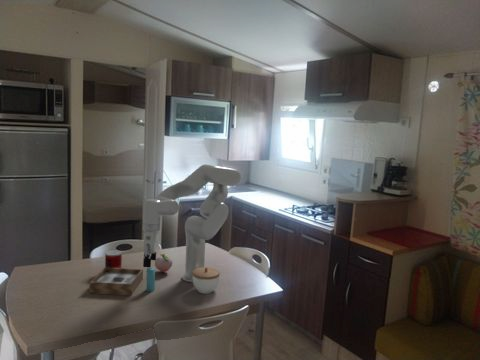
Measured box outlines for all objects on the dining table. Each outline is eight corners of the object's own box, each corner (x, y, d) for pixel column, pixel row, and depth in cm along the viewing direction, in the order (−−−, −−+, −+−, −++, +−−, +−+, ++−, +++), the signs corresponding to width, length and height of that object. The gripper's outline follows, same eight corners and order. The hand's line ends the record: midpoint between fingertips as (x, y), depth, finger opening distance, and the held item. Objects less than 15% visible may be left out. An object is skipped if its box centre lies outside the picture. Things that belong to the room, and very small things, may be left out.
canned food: (123, 271, 199) (124, 250, 198) (117, 277, 191) (117, 255, 190) (109, 270, 200) (109, 249, 198) (102, 275, 192) (102, 254, 191)
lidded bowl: (186, 288, 182) (187, 266, 180) (208, 282, 190) (209, 261, 188) (201, 298, 172) (202, 274, 171) (224, 292, 180) (225, 269, 179)
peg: (155, 288, 180) (155, 267, 179) (153, 291, 177) (153, 270, 175) (147, 288, 180) (148, 267, 179) (145, 291, 177) (145, 270, 175)
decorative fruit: (151, 271, 201) (151, 252, 200) (165, 268, 206) (165, 250, 205) (160, 277, 194) (161, 257, 193) (174, 273, 199) (175, 254, 198)
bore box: (142, 279, 190) (143, 269, 190) (131, 295, 172) (131, 284, 171) (105, 277, 190) (105, 267, 190) (89, 293, 172) (89, 282, 171)
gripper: (155, 232, 166) (153, 270, 168) (163, 223, 183) (162, 258, 185) (137, 230, 166) (136, 269, 168) (148, 221, 183) (146, 256, 185)
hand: (149, 263), depth 176 cm, fingers open, 9 cm apart
